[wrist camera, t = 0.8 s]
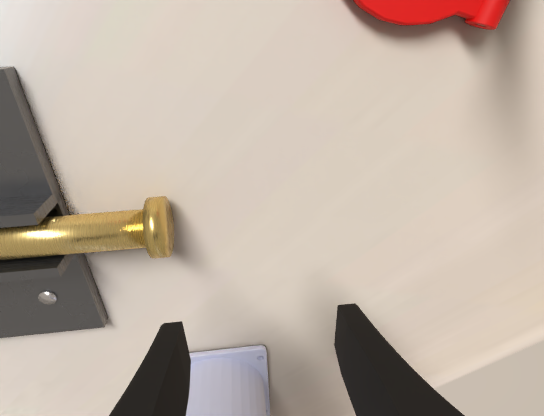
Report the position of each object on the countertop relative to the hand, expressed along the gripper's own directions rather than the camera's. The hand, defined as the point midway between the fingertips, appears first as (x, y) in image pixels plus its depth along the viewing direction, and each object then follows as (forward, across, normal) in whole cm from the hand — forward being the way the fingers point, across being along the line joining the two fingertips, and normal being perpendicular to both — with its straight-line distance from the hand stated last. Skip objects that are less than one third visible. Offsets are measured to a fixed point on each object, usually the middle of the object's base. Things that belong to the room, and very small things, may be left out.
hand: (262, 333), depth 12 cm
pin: (+9, +12, 0) cm, 15 cm away
